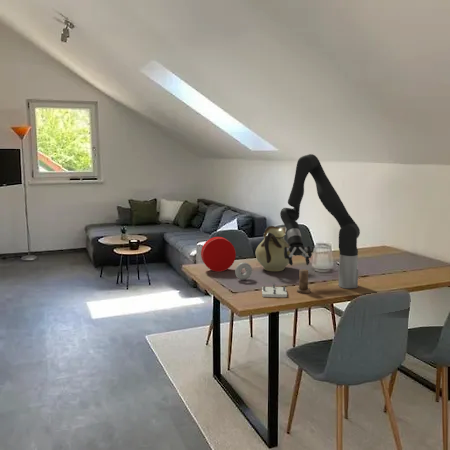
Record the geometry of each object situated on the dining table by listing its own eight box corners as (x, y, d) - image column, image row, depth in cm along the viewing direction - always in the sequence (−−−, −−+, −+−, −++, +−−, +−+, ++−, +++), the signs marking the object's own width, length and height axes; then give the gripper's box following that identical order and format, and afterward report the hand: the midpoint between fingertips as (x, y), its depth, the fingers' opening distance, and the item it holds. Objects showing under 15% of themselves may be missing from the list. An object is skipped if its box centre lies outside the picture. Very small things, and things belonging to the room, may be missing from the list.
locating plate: (285, 290, 241) (285, 283, 240) (286, 297, 229) (287, 290, 229) (262, 289, 242) (262, 283, 241) (262, 296, 230) (262, 290, 229)
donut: (250, 278, 264) (250, 260, 262) (253, 279, 260) (253, 262, 259) (234, 280, 260) (233, 262, 258) (236, 281, 257) (236, 264, 255)
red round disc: (233, 268, 286) (233, 235, 283) (235, 270, 280) (235, 237, 277) (201, 270, 282) (200, 237, 279) (202, 272, 276) (202, 239, 273)
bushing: (309, 289, 242) (310, 268, 240) (311, 293, 235) (311, 272, 233) (295, 289, 242) (296, 268, 240) (297, 293, 235) (297, 272, 233)
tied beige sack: (283, 263, 297) (283, 224, 293) (300, 272, 275) (300, 230, 271) (250, 266, 290) (249, 226, 286) (264, 276, 268) (264, 233, 264)
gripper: (282, 235, 250) (287, 261, 240) (309, 234, 251) (314, 260, 242) (280, 242, 256) (285, 268, 246) (306, 242, 257) (311, 267, 248)
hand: (299, 264), depth 244 cm, fingers open, 8 cm apart
